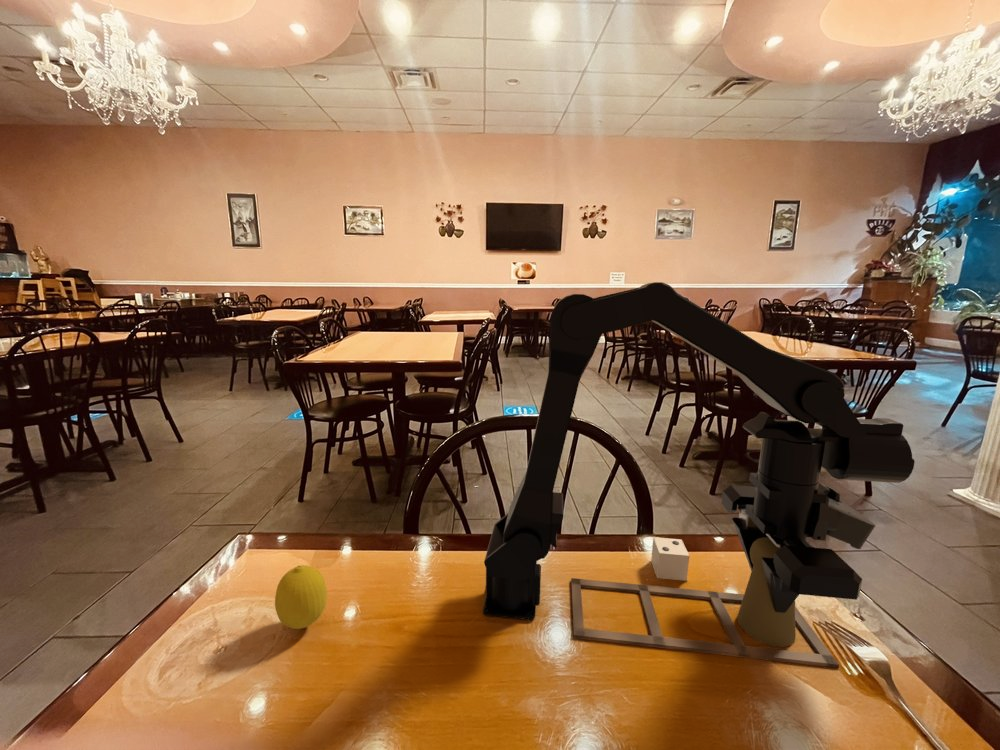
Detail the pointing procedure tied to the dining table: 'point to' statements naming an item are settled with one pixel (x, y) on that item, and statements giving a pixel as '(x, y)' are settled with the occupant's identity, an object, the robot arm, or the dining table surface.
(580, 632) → the three-pane window frame
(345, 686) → the dining table surface
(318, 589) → the lemon
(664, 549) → the die
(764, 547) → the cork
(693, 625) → the dining table surface
